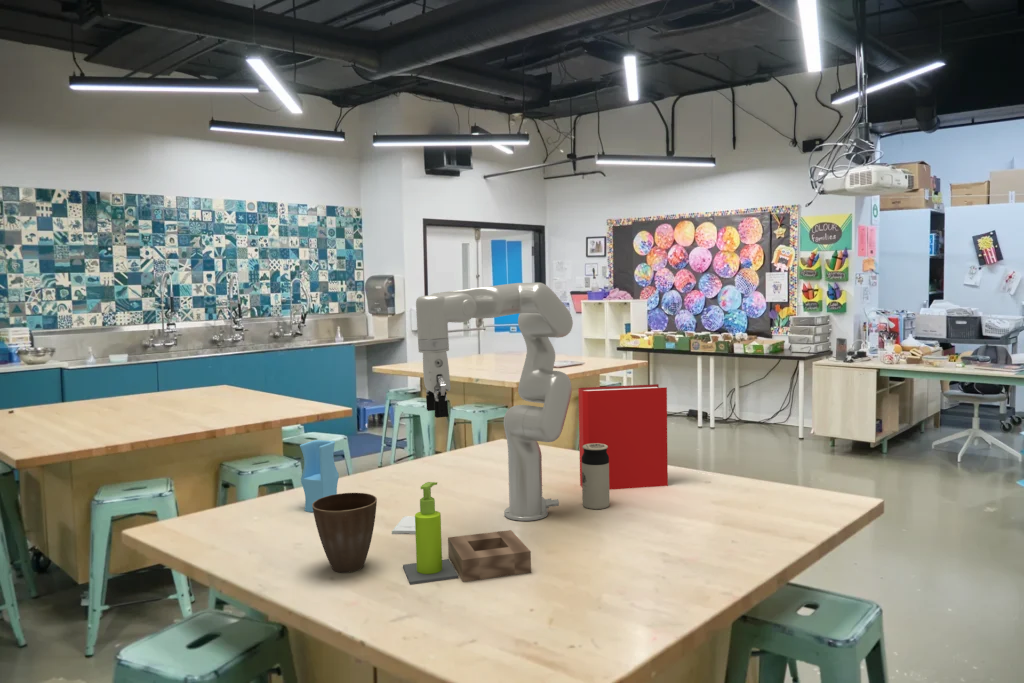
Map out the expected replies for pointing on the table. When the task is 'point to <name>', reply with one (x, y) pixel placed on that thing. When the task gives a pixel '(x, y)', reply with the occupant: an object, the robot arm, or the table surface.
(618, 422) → the book
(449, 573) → the rubber mat
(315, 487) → the light blue angular piece
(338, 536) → the plant pot
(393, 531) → the external hard drive
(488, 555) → the socket block
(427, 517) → the soap dispenser
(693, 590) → the table surface
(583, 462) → the travel mug
